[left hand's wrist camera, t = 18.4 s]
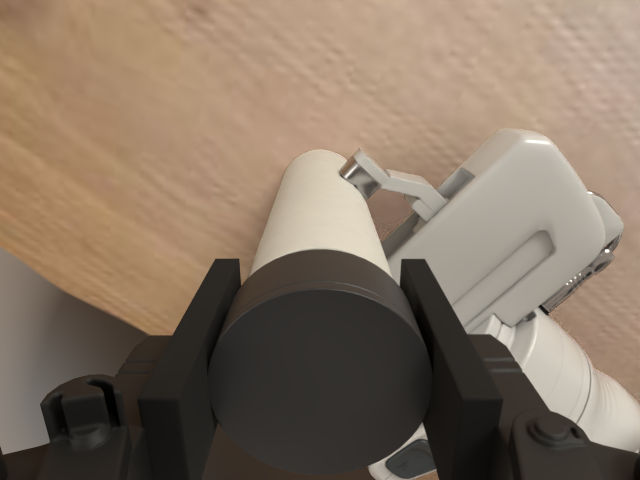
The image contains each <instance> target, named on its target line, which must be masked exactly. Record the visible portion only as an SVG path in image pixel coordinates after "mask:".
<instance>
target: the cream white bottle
mask: <svg viewBox="0 0 640 480" xmlns="http://www.w3.org/2000/svg"><path fill="white" fill-rule="evenodd" d="M346 162H347V160H346V159H345V158H344V157H342V156H341V155H339V154H337V153H335V152H332V151H329V150H312V151H308V152H305V153H303V154H301V155H300V156H298V157H297V158H295V159H294V160H293V161H292V162H291V164H290V165H289V166H288V168H287V170H286V171H285V174H284V177H283V179H282V182H281V185H280V188H279V191H278V193H277V196H276V199H275V202H274V205H273V208H272V210H271V213H270V216H269V219H268V222H267V224H266V227H265V230H264V233H263V236H262V239H261V241H260V244H259V247H258V250H257V253H256V255H255V258H254V261H253V264H252V267H251V270H250V272H249V275H248V278H249V277H250V276H251V275H252V274H253V273H254V272H255V271H257V270H258V269H259V268H261V267H262V266H264V265H265V264H267V263H269V262H271V261H273V260H274V259H276V258H279V257H282V256H284V255H287V254H290V253H294V252H298V251H304V250H313V249H328V250H336V251H342V252H346V253H350V254H354V255H356V256H359V257H361V258H364V259H366V260H368V261H370V262H372V263H373V264H375V265H377V266H378V267H380V268H381V269H382V270H384V271H385V272H386V273H387V274H389V275H390V276H391V277H392V274H391V271H390V268H389V265H388V263H387V260H386V257H385V254H384V251H383V249H382V246H381V243H380V240H379V237H378V234H377V232H376V229H375V226H374V223H373V220H372V218H371V215H370V212H369V209H368V206H367V203H366V201H365V198H364V196H363V195H362V194H361V193H360V192H359V191H358V190H357V187H356V185H353V184H351V183H349V182H348V181H347V180H346V179H345V178H344V177H343V176H342V175H341V173H340V172H341V171H340V169H341V167H342V166H343V165H344V164H345V163H346ZM248 278H247V279H248ZM392 278H393V277H392Z"/></svg>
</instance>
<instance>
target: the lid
mask: <svg viewBox="0 0 640 480" xmlns="http://www.w3.org/2000/svg"><path fill="white" fill-rule="evenodd" d="M207 375H208V386H209V395H210V403H211V408H212V410H213V413H214V415H215V417H216V419H217V421H218V422H219V424H220V426H221V427H222V429H223V430H224V431H225V433H226V434H227V435H228V436H229V437H230V439H231V440H232V441H234V442H235V443H236V444H237V445H238V446H239V447H240V448H241V449H243V450H244V451H245V452H247V453H248V454H250V455H251V456H253V457H255V458H256V459H258V460H260V461H262V462H264V463H266V464H269V465H271V466H273V467H276V468H279V469H283V470H286V471H291V472H296V473H301V474H311V475H329V474H340V473H345V472H350V471H355V470H358V469H361V468H364V467H367V466H370V465H372V464H374V463H377V462H379V461H381V460H382V459H384V458H386V457H388V456H390V455H391V454H392V453H394V452H395V451H396V450H398V449H399V448H401V447H402V446H403V445H404V444H405V443H406V442H407V441H408V440H409V439H410V438H411V437H412V436H413V434H414V433H415V432H416V431H417V430H418V428H419V426H420V425H421V423H422V422H423V420H424V418H425V416H426V414H427V411H428V409H429V406H430V399H431V391H432V381H433V368H432V363H431V359H430V356H429V353H428V351H427V348H426V346H425V343H424V340H423V338H422V335H421V333H420V330H419V327H418V325H417V322H416V320H415V317H414V315H413V312H412V309H411V307H410V304H409V302H408V299H407V298H406V296H405V294H404V292H403V291H402V289H401V288H400V287H399V285H398V284H397V283H396V281H395V280H394V279H393V278H392V277H391V276H390V275H389V274H387V273H386V272H385V271H384V270H382V269H381V268H380V267H378V266H377V265H375V264H373V263H372V262H370V261H368V260H366V259H364V258H361V257H359V256H356V255H354V254H350V253H346V252H342V251H336V250H328V249H313V250H304V251H298V252H294V253H290V254H287V255H284V256H282V257H279V258H276V259H274V260H273V261H271V262H269V263H267V264H265V265H264V266H262V267H261V268H259V269H258V270H257V271H255V272H254V273H253V274H252V275H251V276H250V277H249V278H248V279H247V280H246V281H245V282H244V283H243V285H242V286H241V287H240V288H239V290H238V291H237V293H236V295H235V297H234V298H233V300H232V303H231V305H230V308H229V311H228V313H227V316H226V318H225V321H224V323H223V326H222V329H221V331H220V334H219V336H218V339H217V342H216V344H215V347H214V349H213V352H212V355H211V357H210V361H209V365H208V370H207Z"/></svg>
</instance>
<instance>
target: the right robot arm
mask: <svg viewBox="0 0 640 480" xmlns="http://www.w3.org/2000/svg"><path fill="white" fill-rule="evenodd" d="M340 171H341V172H340V173H341V175H342V176H343V177H344V178H345V179H346V180H347V181H348V182H349V183H351V184H353V185H356V187H357V190H358V191H359V192H360V193H361V194H362V195H363V196H364V197H365V198H366V199H368V198H369V197H370V196H371V195H372V194H373V193H374V192H375V191H376V190H378V189H379V188H381V189H385V190H389V191H393V192H397V193H402V194H404V197H405V199H406V200H407V202H408V203H409V205H410V206H411V208H412V209H413V210H414V211H413V212H411V213H410V214H409V215H408V216H407V217H406V218H405V219H404V220H403V221H402V222H401V223H400V224H399V225H398V226H397V227H396V228H395V229H394V230H393V231H392V232H391V233H390V234H389V235H388V236H387V237H386V238H385V239H384V240H383V241H381V242H380V243H381V246H382V249H383V251H384V254H385V257H386V260H387V263H388V265H389V268H390V271H391V274H392V277H393V279H394V280H395V281H396V283H397V284H398V285H400V271H401V259H425V260H426V262H427V263H428V265H429V267H430V269H431V271H432V272H433V274H434V276H435V278H436V279H437V281H438V283H439V285H440V287H441V288H442V290H443V292H444V294H445V295H446V297H447V299H448V301H449V303H450V304H451V306H452V308H453V310H454V311H455V313H456V315H457V317H458V319H459V320H460V322H461V324H462V326H463V327H464V329H465V331H466V333H467V334H491V335H492V336H493V337H495V338H496V339H498V340H499V341H500V342H502V343H503V344H504V345H506V346H507V348H508V349H509V351H510V352H511V354H512V355H513V357H514V358H515V361H517V363H518V364H519V366H520V367H521V368H522V372H523V373H525V374H526V376H527V377H528V379H529V380H530V382H531V383H532V385H533V386H534V388H535V389H536V391H537V392H538V393H539V395H540V396H541V398H542V399H543V401H544V402H545V404H546V405H547V407H548V408H549V410H550V411H552V412H556V413H559V414H561V415H563V416H565V417H566V418H568V419H570V420H572V421H573V422H574V423H576V424H577V425H578V426H579V427H580V428H582V429H583V430H584V432H585V433H586V435H587V437H588V438H589V440H590V441H592V442H595V443H598V444H602V445H605V446H610V447H614V448H618V449H622V450H627V451H631V452H635V453H638V452H639V449H640V404H639V403H638V402H637V401H636V400H635V399H634V398H633V397H632V396H631V395H630V394H629V393H628V392H627V391H626V390H625V389H624V388H623V387H622V386H621V385H620V384H619V383H618V382H616V381H615V380H614V379H612V378H611V377H610V376H608V375H606V374H605V373H603V372H601V371H599V370H596V369H594V367H593V365H592V363H591V361H590V359H589V357H588V356H587V354H586V353H585V351H584V350H583V349H582V348H581V347H580V346H579V344H578V343H577V342H575V341H574V340H573V339H572V338H571V337H570V336H569V335H568V334H567V333H566V332H565V331H564V330H563V329H562V328H561V327H560V326H559V325H558V324H557V323H556V322H555V321H554V320H553V319H552V318H550V317H549V314H548V313H550V312H551V311H552V310H553V309H555V308H556V307H557V306H558V305H560V304H561V303H562V302H563V301H565V300H566V299H567V298H568V297H570V296H571V295H572V294H573V293H574V292H575V290H577V289H578V287H580V286H581V285H582V283H584V282H585V281H586V280H587V279H589V278H590V277H592V276H593V275H596V274H598V273H600V272H601V271H602V270H603V269H605V268H606V267H607V266H608V265H609V264H610V263H611V262H612V260H613V259H614V255H613V254H612V252H613V250H614V249H615V248H616V247H617V245H618V243H619V241H620V239H621V236H622V232H623V229H624V226H623V222H622V220H621V218H620V217H619V215H618V214H617V213H616V211H615V210H614V209H613V208H612V207H611V206H610V205H609V204H608V202H607V201H606V200H605V199H604V198H603V197H602V196H600V195H599V194H597V193H595V192H592V191H588V190H587V189H586V187H585V186H584V184H583V182H582V181H581V179H580V178H579V176H578V175H577V173H576V172H575V170H574V169H573V168H572V166H571V165H570V163H569V162H568V160H567V159H566V158H565V157H564V155H563V154H562V153H561V151H560V150H559V149H558V148H557V147H556V145H555V144H554V143H553V142H552V141H551V140H550V139H549V138H547V137H545V136H544V135H542V134H539V133H537V132H534V131H531V130H527V129H515V128H503V129H499V130H497V131H496V132H494V133H493V134H492V135H491V136H490V137H489V138H488V139H487V140H486V141H485V142H484V143H483V144H482V145H481V146H480V147H479V148H478V149H477V150H476V151H475V152H474V153H472V154H471V155H470V156H469V157H468V158H467V159H466V160H465V161H464V162H463V163H462V164H461V165H460V166H459V167H458V168H457V169H456V170H455V171H454V172H453V173H452V174H451V175H450V176H449V177H448V178H447V179H446V180H445V181H444V182H443V183H441V184H440V185H439V186H438V187H437V188H436V189H434V188H433V187H432V186H431V185H430V184H429V183H428V182H427V181H426V180H425V179H424V178H423V177H422V176H418V175H413V174H408V173H404V172H399V171H394V170H390V169H385V170H383V169H382V168H381V167H380V166H379V165H378V164H377V163H376V162H375V161H374V160H373V159H372V158H371V157H370V156H368V155H367V154H366V153H365V152H364V151H363V150H362V149H360V148H359V149H358V150H357V151H356V152H355V153H354V154H353V155H352V156H351V158H350V159H349V160H348V161H347V162H346V163H345V164H344V165H343V166H342V167H341V169H340ZM605 246H606V247H605ZM368 469H369V472H370V474H371V475H372V476H373V477H374V478H375V479H376V480H413V479H416V478H418V477H421V476H424V475H426V474H429V473H432V472H435V471H437V470H436V467H435V463H434V460H433V456H432V453H431V449H430V446H429V443H428V439H427V436H426V432H425V429H424V425H423V422H422V423H421V425H420V426H419V428H418V430H417V431H416V432H415V433H414V434H413V436H412V437H411V438H410V439H409V440H408V441H407V442H406V443H405V444H404V445H403V446H402V447H401V448H399V449H398V450H396V451H395V452H394V453H392V454H391V455H390V456H388V457H386V458H384V459H382V460H381V461H379V462H377V463H374V464H372V465H370V466H368Z"/></svg>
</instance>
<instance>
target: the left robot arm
mask: <svg viewBox="0 0 640 480" xmlns="http://www.w3.org/2000/svg"><path fill="white" fill-rule="evenodd" d="M240 287H241V279H240V264H239V259H215V261H214V262H213V264H212V266H211V268H210V270H209V271H208V273H207V275H206V277H205V278H204V280H203V282H202V284H201V286H200V287H199V289H198V291H197V293H196V294H195V296H194V298H193V300H192V302H191V303H190V305H189V307H188V309H187V311H186V312H185V314H184V316H183V318H182V319H181V321H180V323H179V325H178V327H177V328H176V330H175V332H174V334H173V335H172V336H149V337H148V338H146V339H145V340H144V341H142V342H141V343H140V344H138V345H137V346H135V348H134V349H133V351H132V352H131V353H130V355H129V356H128V358H127V359H126V363H124V364H123V365H122V367H121V368H120V370H119V371H118V374H116V376H115V377H111V376H107V375H103V374H100V375H87V376H83V377H79V378H75V379H72V380H70V381H68V382H66V383H64V384H62V385H59V386H58V387H57V388H55V389H54V390H53V391H51V392H50V393H49V394H47V396H46V397H45V398H44V400H43V401H42V402H41V404H40V406H41V410H42V413H43V417H44V420H45V424H46V428H47V431H48V435H49V439H50V443H48V444H45V445H42V446H38V447H35V448H30V449H26V450H22V451H18V452H13V453H9V454H5V455H3V454H2V451H1V447H0V480H201V478H202V475H203V472H204V468H205V464H206V461H207V458H208V454H209V451H210V448H211V444H212V441H213V437H214V434H215V430H216V427H217V423H218V421H217V419H216V417H215V415H214V413H213V410H212V408H211V403H210V395H209V386H208V375H207V370H208V365H209V361H210V357H211V355H212V352H213V349H214V347H215V344H216V342H217V339H218V336H219V334H220V331H221V329H222V326H223V323H224V321H225V318H226V316H227V313H228V311H229V308H230V305H231V303H232V300H233V298H234V297H235V295H236V293H237V291H238V290H239V288H240ZM399 287H400V288H401V289H402V291H403V292H404V294H405V296H406V298H407V299H408V302H409V304H410V307H411V309H412V312H413V315H414V317H415V320H416V322H417V325H418V327H419V330H420V333H421V335H422V338H423V340H424V343H425V346H426V348H427V351H428V353H429V356H430V359H431V363H432V368H433V381H432V391H431V399H430V406H429V409H428V411H427V414H426V416H425V418H424V420H423V425H424V429H425V432H426V436H427V439H428V443H429V446H430V449H431V453H432V456H433V460H434V463H435V467H436V470H437V473H438V477H439V480H640V449H639V452H638V453H635V452H631V451H627V450H622V449H618V448H614V447H610V446H605V445H602V444H598V443H595V442H592V441H590V440H589V438H588V437H587V435H586V433H585V432H584V430H583V429H582V428H580V427H579V426H578V425H577V424H576V423H574V422H573V421H572V420H570V419H568V418H566V417H565V416H563V415H561V414H559V413H556V412H552V411H550V410H549V408H548V407H547V405H546V404H545V402H544V401H543V399H542V398H541V396H540V395H539V393H538V392H537V391H536V389H535V388H534V386H533V385H532V383H531V382H530V380H529V379H528V377H527V376H526V374H525V373H523V372H522V368H521V367H520V366H519V364H518V363H517V361H515V358H514V357H513V355H512V354H511V352H510V351H509V349H508V348H507V346H506V345H504V344H503V343H502V342H500V341H499V340H498V339H496V338H495V337H493V336H492V335H491V334H467V333H466V331H465V329H464V327H463V326H462V324H461V322H460V320H459V319H458V317H457V315H456V313H455V311H454V310H453V308H452V306H451V304H450V303H449V301H448V299H447V297H446V295H445V294H444V292H443V290H442V288H441V287H440V285H439V283H438V281H437V279H436V278H435V276H434V274H433V272H432V271H431V269H430V267H429V265H428V263H427V262H426V260H425V259H401V271H400V285H399Z"/></svg>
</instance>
